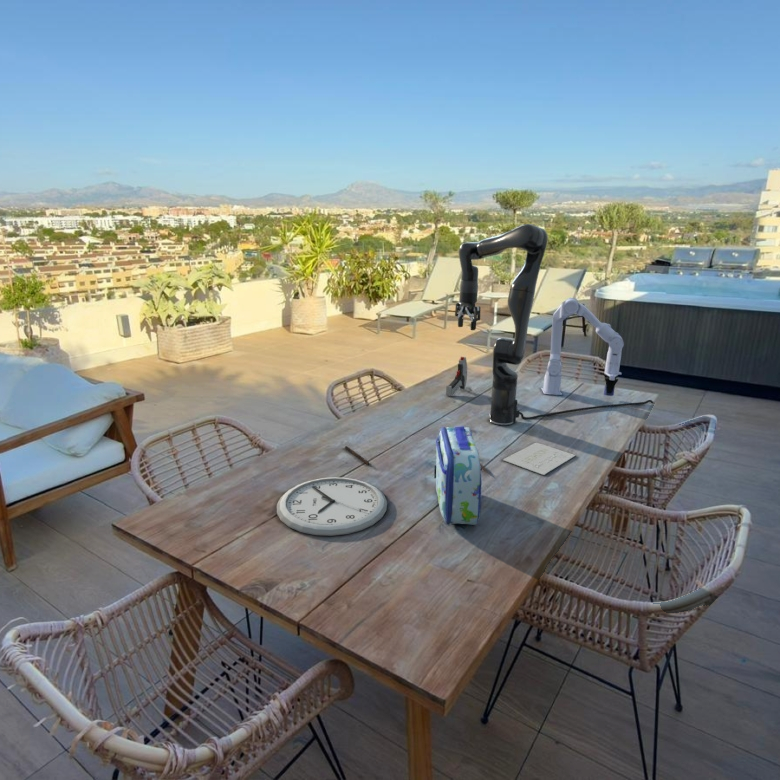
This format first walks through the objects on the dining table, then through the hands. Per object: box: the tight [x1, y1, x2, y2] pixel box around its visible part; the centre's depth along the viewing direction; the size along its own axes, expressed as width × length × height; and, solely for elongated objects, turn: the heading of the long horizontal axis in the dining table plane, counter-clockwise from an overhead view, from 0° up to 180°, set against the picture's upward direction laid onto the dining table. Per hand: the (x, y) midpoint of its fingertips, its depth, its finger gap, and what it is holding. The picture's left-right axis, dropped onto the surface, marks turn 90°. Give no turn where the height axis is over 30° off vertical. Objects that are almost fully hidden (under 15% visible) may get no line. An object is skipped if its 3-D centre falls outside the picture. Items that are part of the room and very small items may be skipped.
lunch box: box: [433, 425, 482, 526], centre depth 140 cm, size 26×11×21 cm, turn 179°
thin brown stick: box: [344, 445, 370, 465], centre depth 173 cm, size 15×1×1 cm, turn 34°
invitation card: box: [502, 442, 577, 476], centre depth 174 cm, size 21×1×15 cm
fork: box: [480, 463, 488, 474], centre depth 169 cm, size 3×16×2 cm, turn 15°
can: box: [603, 384, 616, 397], centre depth 236 cm, size 4×4×4 cm
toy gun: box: [445, 356, 468, 397], centre depth 239 cm, size 2×16×15 cm
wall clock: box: [276, 476, 388, 537], centre depth 142 cm, size 30×2×30 cm
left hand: (466, 328), depth 228 cm, fingers open, 8 cm apart
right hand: (608, 391), depth 237 cm, fingers closed on can, 4 cm apart
